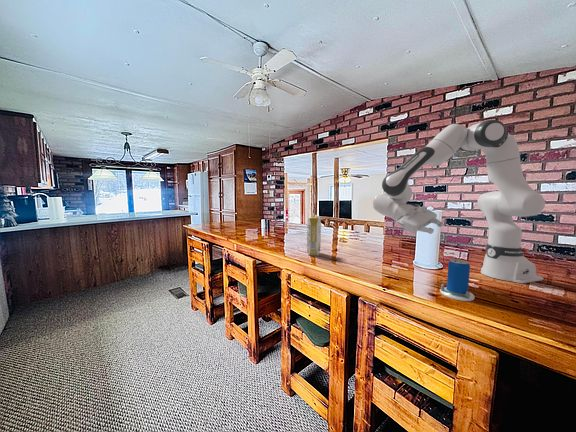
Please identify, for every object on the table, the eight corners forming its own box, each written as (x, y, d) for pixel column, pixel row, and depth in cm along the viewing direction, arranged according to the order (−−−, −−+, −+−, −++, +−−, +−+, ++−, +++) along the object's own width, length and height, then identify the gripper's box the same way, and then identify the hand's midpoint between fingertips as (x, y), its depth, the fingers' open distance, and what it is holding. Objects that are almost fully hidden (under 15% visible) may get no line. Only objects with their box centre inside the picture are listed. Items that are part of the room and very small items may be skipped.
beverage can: (459, 289, 91) (461, 258, 90) (472, 296, 85) (475, 263, 84) (442, 289, 91) (444, 258, 90) (454, 296, 85) (456, 263, 84)
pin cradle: (458, 288, 94) (458, 280, 94) (482, 300, 84) (482, 291, 83) (433, 289, 93) (434, 281, 92) (455, 301, 82) (455, 293, 82)
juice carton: (320, 256, 140) (320, 216, 138) (306, 255, 141) (307, 215, 139) (320, 252, 149) (321, 214, 147) (307, 251, 150) (308, 214, 148)
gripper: (395, 214, 99) (429, 229, 90) (418, 203, 110) (450, 215, 101) (391, 227, 102) (423, 242, 93) (414, 215, 113) (445, 228, 104)
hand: (437, 228), depth 97 cm, fingers open, 8 cm apart
